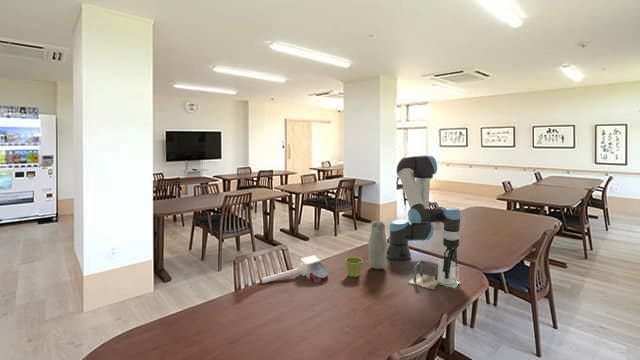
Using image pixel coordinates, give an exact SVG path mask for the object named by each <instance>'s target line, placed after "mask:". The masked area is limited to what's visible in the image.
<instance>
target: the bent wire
mask: <svg viewBox="0 0 640 360" xmlns="http://www.w3.org/2000/svg"><path fill="white" fill-rule="evenodd" d="M424 264H427V265H432V266H434V277H435V280H438V263H435V262H430V261H426V260H420V261H419V262H417V263H416V264H415V265H413V277H414V278H413V277H412V278H413V281H414V282H416V275H417V268H418V266H419V273H420V276H423V274H424V273H423V272H424Z"/></svg>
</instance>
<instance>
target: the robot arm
mask: <svg viewBox="0 0 640 360" xmlns="http://www.w3.org/2000/svg"><path fill="white" fill-rule="evenodd" d="M437 172H438V164H437V160H436V158H435V157H434V156H433V155H428V154H427V155H425V154H424V155H422V154H421V155H418V154H417V155H407V156H406V155H405V156H404V157H402V158H401V159H400V160H399V162H398V163H397V166H396V175H397V178H398V179H399V180H400V182H401V185H402V188H403V191H404V193H405V197H406V200H407V203H408V206H409V209H408V210H407V211H408V212H407V219H408V220H407V219H396V220H392V221H391V222H390V223H389V229H388V230H389V244H388V246H387V257H386V259H389V260H393V261H400V262H401V261H408V260H410V259H411V257H412V255H411V249H410V248H409V241H411V242H412V241H413V242H414V241H423V242H424V241H428V240H431V239H432V238H433V234H434V223H435V224H437V223H442V224H443V234H442V235H443V238H442V239H443V240H442V241H443V243H442V244H443V246H444V247H446V249H445V252H444V253H443V259H444V265H443V272H444V284H447V285H450V267H451V261H454V262H455V263H456V264H455V266H458V248H459V247H460V235H461V233H460V231H461V230H460V227H461V210H460V208H457V207H451V206H449V207H442V206H437V207H435V208H433V207H432V208H430V207H429V206H430V205H429V203H430V189H431V188H430V187H431V180H432V179H433V178H434V176H435V175H436V174H437ZM458 267H459V266H458ZM456 271H457V267H455V273H457V272H456Z"/></svg>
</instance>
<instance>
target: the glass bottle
mask: <svg viewBox="0 0 640 360" xmlns="http://www.w3.org/2000/svg"><path fill="white" fill-rule="evenodd" d="M387 250H388V241H387V235H386V227H385V223H384V222H382V221H380V220H375V221H373V222H372V224H371V230H370V235H369V238H368V263H369V266H370V267H371V268H372V269H375V270H382V269H383V268H384V267H385V266H386V263H387Z"/></svg>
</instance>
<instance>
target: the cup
mask: <svg viewBox="0 0 640 360" xmlns="http://www.w3.org/2000/svg"><path fill="white" fill-rule="evenodd" d="M437 264H438V281H439V282H440V283H443V284H444V272H443V265H444V258H443V259H439V260H438V263H437ZM455 264H456V263H455V262H454V261H451V267H450V284H454V283H455V281H459V279H460V268H459V266H455ZM456 265H457V264H456ZM455 267H456V271H457V272H455ZM456 273H457V275H456Z"/></svg>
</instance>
